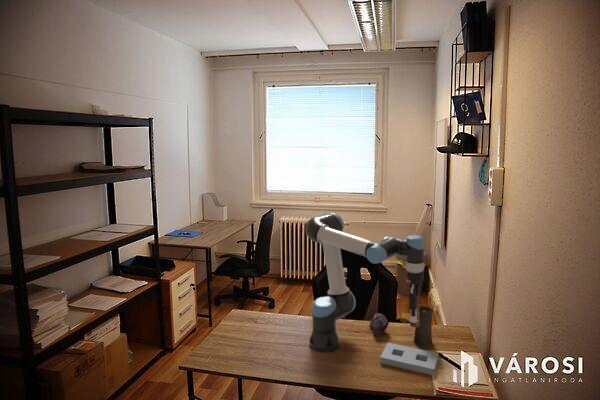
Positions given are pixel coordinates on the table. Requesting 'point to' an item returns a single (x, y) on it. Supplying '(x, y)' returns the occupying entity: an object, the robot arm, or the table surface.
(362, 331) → the table surface
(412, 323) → the walnut peg
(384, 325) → the rock
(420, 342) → the container
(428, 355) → the board
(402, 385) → the table surface
